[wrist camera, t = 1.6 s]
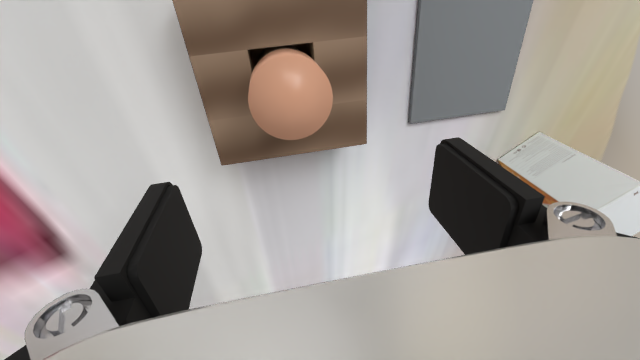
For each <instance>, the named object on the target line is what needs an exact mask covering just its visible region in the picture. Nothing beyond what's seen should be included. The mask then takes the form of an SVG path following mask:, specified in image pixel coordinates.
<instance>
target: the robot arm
mask: <svg viewBox="0 0 640 360" xmlns="http://www.w3.org/2000/svg"><path fill="white" fill-rule="evenodd" d="M544 198H545V196H544V195H542V194H541V193H539V192H538V191H537V190H535V189H534V188H532V187H531V186H529V185H528V184H526V183H525V182H523V181H522V180H521V179H519V178H518V177H516V176H515V175H513V174H512V173H510V172H509V171H507V170H506V169H504V168H503V167H502V166H500V165H499V164H497V163H496V162H494V161H493V160H491V159H490V158H488V157H487V156H486V155H484V154H483V153H481V152H480V151H478V150H477V149H475V148H474V147H472V146H471V145H469V144H468V143H467V142H465V141H464V140H462V139H461V138H452V139H445V140H442V141H441V143H440V144H438V145H437V147H436V152H435V159H434V167H433V174H432V182H431V189H430V197H429V209H430V211H431V213H432V214H433V215H434V217H435V218H436V219H437V220H438V221H439V223H440V224H441V225H442V226H443V228H444V229H445V230H446V231H447V233H448V234H449V235H450V236H451V238H452V239H453V240H454V241H455V243H456V244H457V245H458V246H459V248H460V249H461V250H462V251H463V252H464V254H465V255H462V256H457V257H452V258H446V259H441V260H436V261H430V262H425V263H420V264H415V265H409V266H404V267H399V268H394V269H389V270H384V271H379V272H374V273H368V274H363V275H358V276H353V277H348V278H343V279H338V280H333V281H328V282H323V283H318V284H312V285H307V286H302V287H297V288H293V289H288V290H283V291H278V292H273V293H268V294H263V295H258V296H253V297H248V298H243V299H238V300H233V301H228V302H223V303H218V304H213V305H208V306H203V307H198V308H193V309H189V305H190V301H191V296H192V292H193V288H194V284H195V280H196V275H197V271H198V267H199V263H200V259H201V254H202V246H201V242H200V240H199V237H198V235H197V232H196V230H195V227H194V225H193V222H192V220H191V217H190V215H189V212H188V210H187V207H186V205H185V202H184V200H183V197H182V195H181V192H180V190H179V187H178V186H177V185H174V186H173V185H172V184H171V183H170V182H166V183H159V184H153V185H150V186H149V188H148V190H147V191H146V193H145V195H144V196H143V198H142V200H141V201H140V203H139V205H138V206H137V208H136V210H135V211H134V213H133V214H132V216H131V218H130V219H129V221H128V223H127V224H126V226H125V228H124V229H123V231H122V233H121V234H120V236H119V238H118V239H117V241H116V242H115V244H114V246H113V247H112V249H111V251H110V252H109V254H108V256H107V257H106V259H105V261H104V262H103V264H102V266H101V267H100V269H99V271H98V272H97V274H96V275H95V277H94V278H95V281H94V282H93V284H92V286H91V288H90V289H80V290H75V291H72V292H69V293H67V294H64V295H62V296H60V297H58V298H56V299H55V300H53V301H52V302H50V303H49V304H47V305H46V306H45V307H44V308H42V309H41V310H40V311H39V312H38V313H37V314H36V315H35V316H34V317H33V319H32V320H31V321H30V322H29V324H28V326H27V328H26V330H25V342H26V345H25V346H24V347H22V348H21V349H19V350H18V351H16V352H15V353H13V354H12V355H11V356H9V357H8V358H6V359H5V360H640V238H636V237H632V236H629V235H625V234H621V233H617V232H615V228H614V225H613V223H612V222H611V220H610V219H609V218H608V217H607V216H606V215H605V214H603V213H602V212H600V211H598V210H596V209H594V208H592V207H589V206H586V205H583V204H579V203H574V202H555V203H552V204H550V205H549V206H548V208H546V207H545V206H544V205H542V203H543V201H544Z"/></svg>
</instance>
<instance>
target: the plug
mask: <svg viewBox="0 0 640 360" xmlns="http://www.w3.org/2000/svg"><path fill="white" fill-rule="evenodd" d="M332 103H333V93H332V88H331V84H330V82H329V79H328V78H327V76H326V74H325V73H324V72H323V70H322V69H321V68H320V67H319V66H318V64H317V63H316V62H315V61H314V60H313V59H312V58H311V57H310V56H308V55H307V54H305V53H303V52H301V51H299V50H298V49H297V48H296V47H295V46H293V45H285V46H276V47H267V48H265V49H264V50H263V51H262V53H261V54H260V57H259V60H258V63H257V64H256V66H255V68H254V69H253V72H252V74H251V78H250V85H249V92H248V104H249V109H250V112H251V114H252V117H253V118H254V120H255V122H256V123H257V124H258V126H259V127H260V128H261V129H262V130H264V131H265V132H266V133H268V134H270V135H271V136H274V137H276V138H279V139H284V140H298V139H302V138H305V137H308V136H310V135H312V134H313V133H315V132H316V131H317V130H319V129H320V128H321V127H322V126H323V124H324V123H325V122H326V120H327V118H328V117H329V114H330V112H331V108H332Z"/></svg>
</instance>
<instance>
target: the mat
mask: <svg viewBox="0 0 640 360" xmlns="http://www.w3.org/2000/svg"><path fill="white" fill-rule="evenodd" d="M532 4H533V0H418V12H417V24H416V36H415V48H414V60H413V72H412V84H411V97H410V109H409V121H408V122H409V123H410V124H412V123H419V122H426V121H433V120H440V119H447V118H454V117H460V116H467V115H474V114H481V113H488V112H495V111H502V110H505V107H506V103H507V100H508V96H509V92H510V88H511V84H512V80H513V77H514V73H515V69H516V65H517V61H518V57H519V54H520V50H521V46H522V42H523V38H524V34H525V30H526V27H527V23H528V19H529V15H530V11H531V7H532Z"/></svg>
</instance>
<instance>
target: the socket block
mask: <svg viewBox="0 0 640 360" xmlns="http://www.w3.org/2000/svg"><path fill="white" fill-rule="evenodd" d="M172 1H173V4H174V7H175V11H176V14H177V17H178V21H179V24H180V27H181V31H182V34H183V37H184V41H185V44H186V48H187V51H188V54H189V58H190V61H191V64H192V68H193V71H194V74H195V78H196V81H197V84H198V88H199V91H200V94H201V98H202V101H203V105H204V108H205V111H206V115H207V118H208V121H209V125H210V128H211V131H212V135H213V138H214V141H215V145H216V148H217V151H218V155H219V158H220V162H221V165H229V164H235V163H242V162H249V161H255V160H262V159H269V158H275V157H282V156H289V155H295V154H302V153H309V152H315V151H322V150H329V149H335V148H342V147H349V146H355V145H362V144H367V0H172ZM285 45H293V46H295V47H296V48H297V49H298V50H299V51H301V52H303V53H305V54H307V55H308V56H310V57H311V58H312V59H313V60H314V61H315V62H316V63H317V64H318V66H319V67H320V68H321V69H322V70H323V72H324V73H325V74H326V76H327V78H328V79H329V82H330V84H331V88H332V93H333V103H332V108H331V112H330V114H329V117H328V118H327V120H326V122H325V123H324V124H323V126H322V127H321V128H320V129H319V130H317V131H316V132H315V133H313V134H312V135H310V136H308V137H305V138H302V139H298V140H284V139H279V138H276V137H274V136H271V135H270V134H268V133H266V132H265V131H264V130H262V129H261V128H260V127H259V126H258V124H257V123H256V122H255V120H254V118H253V117H252V114H251V112H250V109H249V104H248V92H249V85H250V78H251V74H252V72H253V69H254V68H255V66H256V64H257V63H258V60H259V57H260V54H261V53H262V51H263V50H264V49H265V48H267V47H276V46H285Z"/></svg>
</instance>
